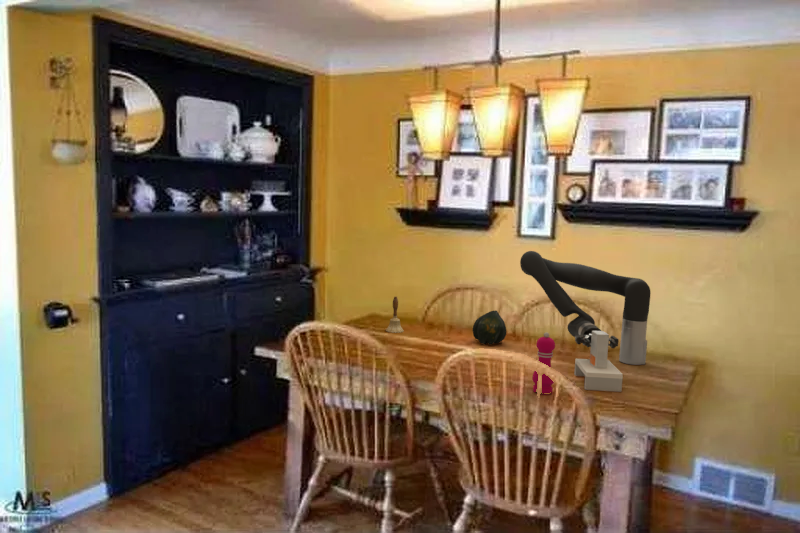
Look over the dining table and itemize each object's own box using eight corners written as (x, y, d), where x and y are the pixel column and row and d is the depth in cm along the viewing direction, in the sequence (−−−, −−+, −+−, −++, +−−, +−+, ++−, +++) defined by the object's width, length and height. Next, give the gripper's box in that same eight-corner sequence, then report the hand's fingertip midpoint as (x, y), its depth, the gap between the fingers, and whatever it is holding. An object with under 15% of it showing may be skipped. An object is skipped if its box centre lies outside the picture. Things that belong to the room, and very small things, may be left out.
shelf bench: (607, 376, 234) (609, 360, 233) (621, 391, 216) (622, 374, 215) (574, 374, 234) (575, 358, 234) (585, 389, 217) (586, 372, 216)
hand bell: (403, 333, 291) (404, 298, 289) (385, 332, 291) (386, 297, 289) (403, 329, 299) (405, 295, 297) (385, 328, 299) (387, 294, 297)
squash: (463, 331, 273) (488, 307, 270) (469, 326, 288) (493, 303, 284) (487, 356, 271) (512, 332, 268) (491, 349, 286) (516, 326, 282)
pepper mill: (554, 396, 208) (558, 335, 206) (531, 393, 210) (535, 333, 207) (553, 389, 215) (557, 331, 213) (531, 387, 217) (535, 329, 214)
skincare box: (588, 363, 227) (591, 330, 226) (600, 363, 228) (603, 330, 226) (594, 368, 221) (597, 334, 220) (606, 368, 222) (609, 334, 220)
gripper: (571, 323, 238) (581, 333, 222) (610, 325, 237) (623, 335, 221) (570, 343, 239) (579, 354, 223) (609, 345, 238) (621, 356, 222)
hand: (601, 344), depth 222 cm, fingers open, 8 cm apart
